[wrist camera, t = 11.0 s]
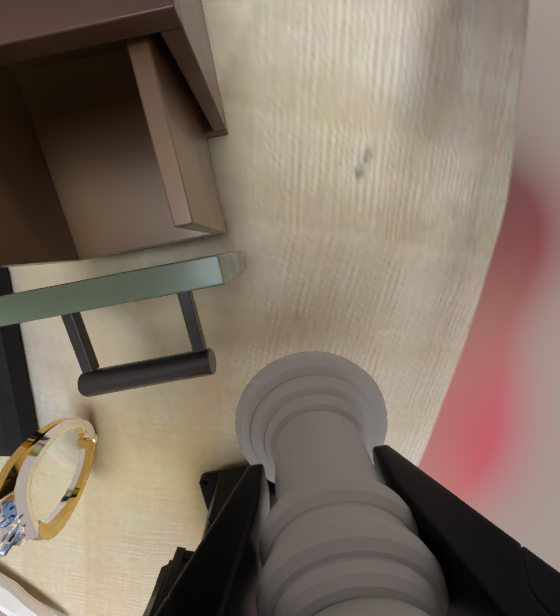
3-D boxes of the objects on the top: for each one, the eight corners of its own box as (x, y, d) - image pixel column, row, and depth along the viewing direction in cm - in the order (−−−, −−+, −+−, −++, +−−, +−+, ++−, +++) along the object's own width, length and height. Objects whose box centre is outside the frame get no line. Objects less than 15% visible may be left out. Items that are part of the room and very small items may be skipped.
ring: (70, 395, 21) (-48, 482, 14) (112, 400, 21) (20, 488, 14) (73, 471, 23) (-32, 587, 15) (112, 474, 23) (29, 592, 15)
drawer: (260, 336, 20) (250, 394, 12) (105, 364, 20) (0, 438, 12) (195, 33, 16) (119, -171, 8) (2, 74, 16) (-249, -86, 8)
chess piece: (358, 326, 10) (1370, 1303, 1) (396, 450, 11) (964, 1416, 2) (215, 375, 10) (-296, 1464, 1) (266, 490, 11) (232, 1476, 2)
